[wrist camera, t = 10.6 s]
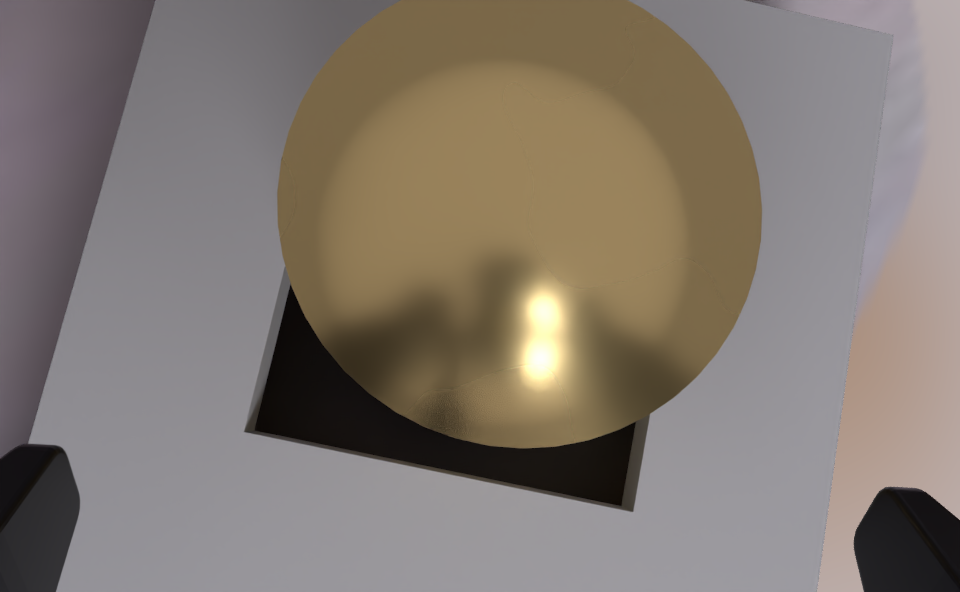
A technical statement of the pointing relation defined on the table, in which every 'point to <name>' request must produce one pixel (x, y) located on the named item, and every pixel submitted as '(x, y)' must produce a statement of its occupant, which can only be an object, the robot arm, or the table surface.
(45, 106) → the table surface
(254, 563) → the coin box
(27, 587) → the robot arm
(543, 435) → the brass cylinder
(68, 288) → the table surface
